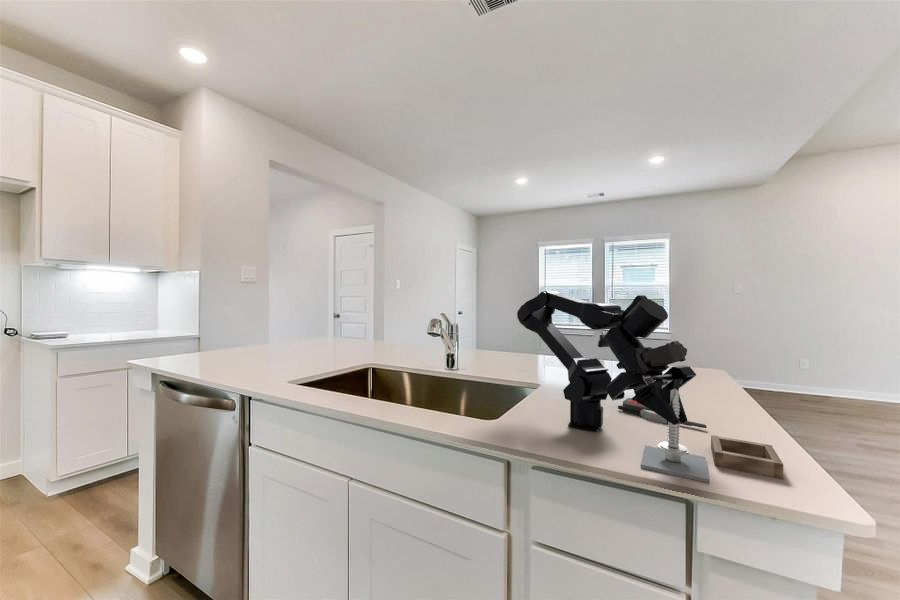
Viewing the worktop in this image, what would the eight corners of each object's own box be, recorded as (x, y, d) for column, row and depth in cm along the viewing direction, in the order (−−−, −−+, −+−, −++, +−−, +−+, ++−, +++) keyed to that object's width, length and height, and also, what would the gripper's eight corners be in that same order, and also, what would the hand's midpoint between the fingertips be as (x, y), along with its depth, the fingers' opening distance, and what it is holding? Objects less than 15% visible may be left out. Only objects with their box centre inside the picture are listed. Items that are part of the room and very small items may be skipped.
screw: (694, 465, 66) (666, 464, 66) (678, 454, 70) (652, 453, 71) (696, 392, 65) (668, 391, 66) (680, 385, 70) (654, 384, 70)
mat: (640, 467, 66) (640, 464, 66) (645, 448, 75) (645, 445, 75) (709, 482, 61) (709, 479, 61) (705, 460, 70) (705, 456, 70)
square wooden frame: (714, 465, 68) (714, 451, 67) (710, 447, 76) (711, 435, 76) (783, 479, 63) (783, 464, 63) (771, 458, 71) (771, 445, 71)
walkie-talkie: (614, 414, 98) (705, 434, 84) (614, 397, 98) (705, 414, 84) (625, 407, 104) (712, 424, 90) (625, 391, 104) (712, 406, 90)
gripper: (621, 328, 67) (678, 406, 58) (687, 325, 75) (748, 394, 65) (587, 363, 75) (633, 438, 65) (651, 357, 82) (701, 423, 73)
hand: (681, 422), depth 67 cm, fingers closed on screw, 2 cm apart
